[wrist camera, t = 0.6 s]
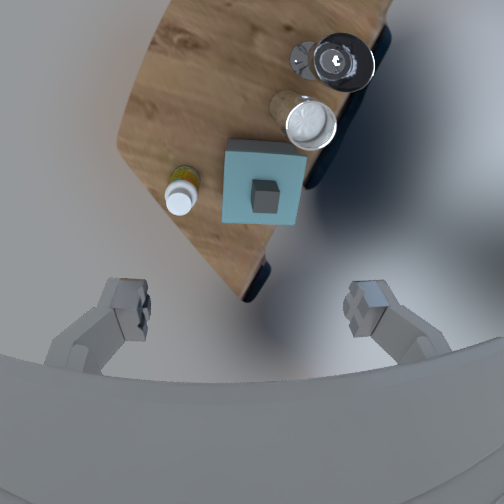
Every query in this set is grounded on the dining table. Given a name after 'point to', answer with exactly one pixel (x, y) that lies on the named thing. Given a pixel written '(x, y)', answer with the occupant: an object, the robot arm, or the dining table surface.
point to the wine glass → (335, 62)
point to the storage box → (261, 146)
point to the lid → (262, 186)
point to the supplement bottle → (182, 190)
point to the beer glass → (303, 119)
